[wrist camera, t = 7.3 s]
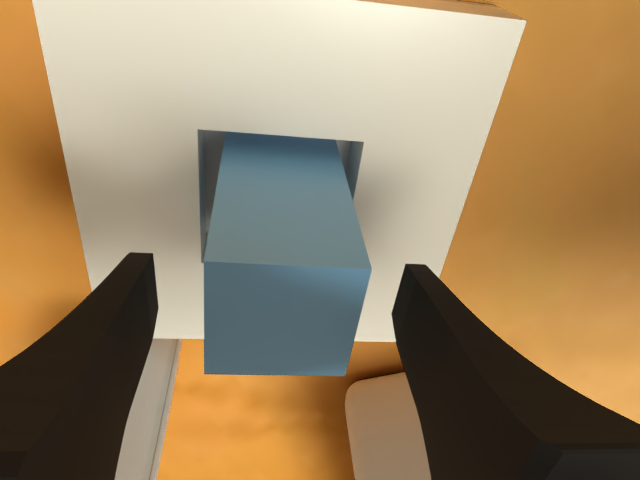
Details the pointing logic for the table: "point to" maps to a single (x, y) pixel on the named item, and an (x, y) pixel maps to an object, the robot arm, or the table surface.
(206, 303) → the plug
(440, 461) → the robot arm
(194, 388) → the table surface
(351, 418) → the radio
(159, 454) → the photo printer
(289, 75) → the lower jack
